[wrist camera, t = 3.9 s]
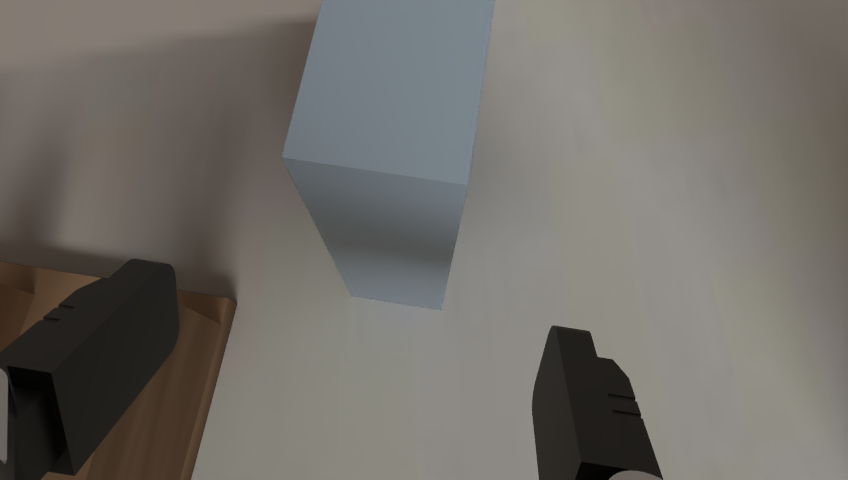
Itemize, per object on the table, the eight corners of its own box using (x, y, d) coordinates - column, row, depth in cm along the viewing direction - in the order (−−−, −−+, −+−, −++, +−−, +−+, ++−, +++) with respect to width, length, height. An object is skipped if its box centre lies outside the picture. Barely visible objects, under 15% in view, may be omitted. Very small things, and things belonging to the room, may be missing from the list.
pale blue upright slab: (468, 127, 24) (514, -137, 13) (441, 310, 22) (468, 185, 10) (387, 115, 24) (362, -156, 13) (351, 296, 22) (281, 157, 11)
